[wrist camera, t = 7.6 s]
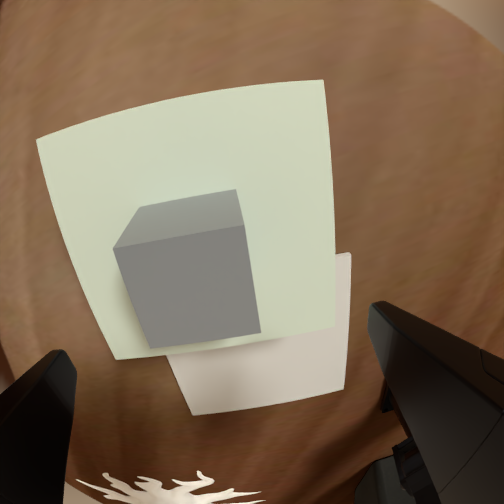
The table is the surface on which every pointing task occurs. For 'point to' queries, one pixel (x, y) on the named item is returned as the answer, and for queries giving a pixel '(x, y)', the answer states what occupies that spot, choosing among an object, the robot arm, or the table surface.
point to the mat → (270, 364)
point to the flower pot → (382, 485)
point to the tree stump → (166, 492)
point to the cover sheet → (198, 162)
